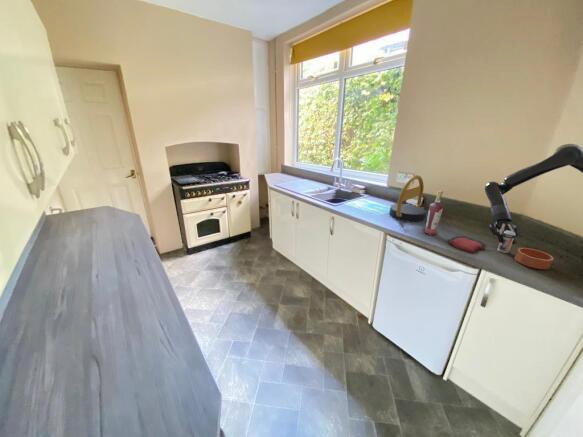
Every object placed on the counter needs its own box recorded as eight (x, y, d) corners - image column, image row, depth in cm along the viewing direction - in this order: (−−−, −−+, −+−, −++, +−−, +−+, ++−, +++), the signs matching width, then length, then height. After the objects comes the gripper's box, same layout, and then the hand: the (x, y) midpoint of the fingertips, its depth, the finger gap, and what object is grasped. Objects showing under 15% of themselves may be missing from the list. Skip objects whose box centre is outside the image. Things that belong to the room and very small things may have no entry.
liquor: (432, 237, 145) (443, 193, 135) (420, 232, 151) (430, 190, 140) (438, 234, 149) (449, 191, 139) (427, 230, 154) (437, 188, 144)
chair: (433, 216, 180) (443, 175, 169) (411, 227, 160) (421, 181, 148) (401, 207, 198) (409, 170, 187) (378, 216, 177) (385, 175, 166)
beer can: (495, 250, 130) (502, 230, 125) (500, 248, 131) (507, 229, 127) (505, 254, 126) (512, 234, 121) (510, 252, 127) (518, 232, 123)
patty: (471, 254, 125) (472, 251, 124) (444, 244, 136) (445, 241, 135) (487, 247, 133) (488, 244, 132) (460, 237, 144) (461, 234, 143)
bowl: (549, 264, 117) (554, 254, 115) (547, 273, 109) (552, 263, 107) (516, 254, 126) (519, 245, 124) (512, 262, 118) (515, 252, 116)
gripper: (491, 210, 130) (497, 239, 123) (520, 212, 127) (529, 241, 121) (482, 216, 136) (488, 243, 130) (510, 217, 134) (517, 246, 127)
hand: (508, 242), depth 125 cm, fingers closed on beer can, 4 cm apart
